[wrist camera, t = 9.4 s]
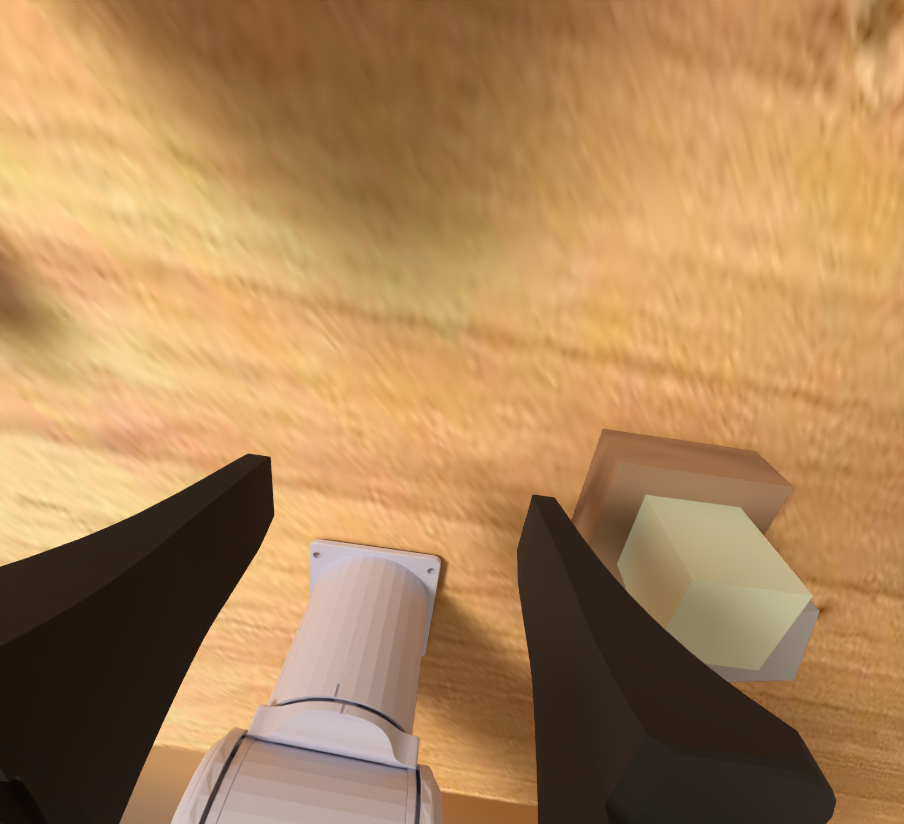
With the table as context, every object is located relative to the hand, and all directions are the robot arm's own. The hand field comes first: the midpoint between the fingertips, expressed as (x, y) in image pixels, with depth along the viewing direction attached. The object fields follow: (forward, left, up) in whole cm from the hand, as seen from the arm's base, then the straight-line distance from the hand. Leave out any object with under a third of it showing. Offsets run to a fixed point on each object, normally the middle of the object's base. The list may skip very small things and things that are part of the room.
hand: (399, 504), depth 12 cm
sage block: (-6, -13, -7) cm, 16 cm away
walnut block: (-6, -13, -10) cm, 18 cm away
